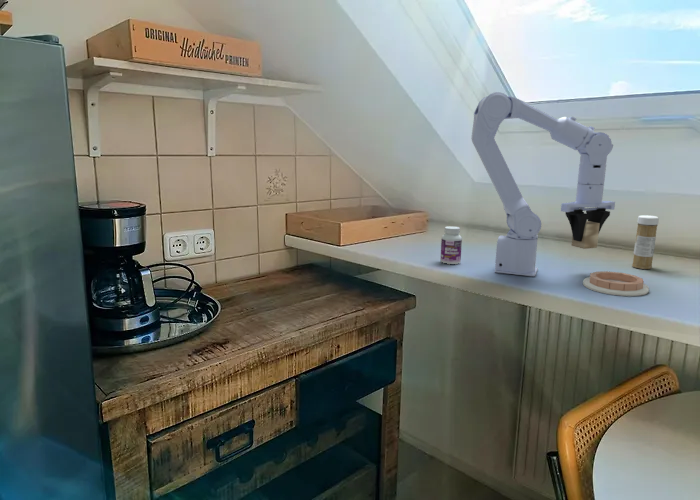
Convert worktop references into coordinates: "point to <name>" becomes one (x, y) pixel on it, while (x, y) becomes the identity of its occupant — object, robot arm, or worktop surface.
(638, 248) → the sprinkles bottle
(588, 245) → the beige wooden block
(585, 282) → the collar dish
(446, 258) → the pill bottle
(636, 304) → the worktop surface
